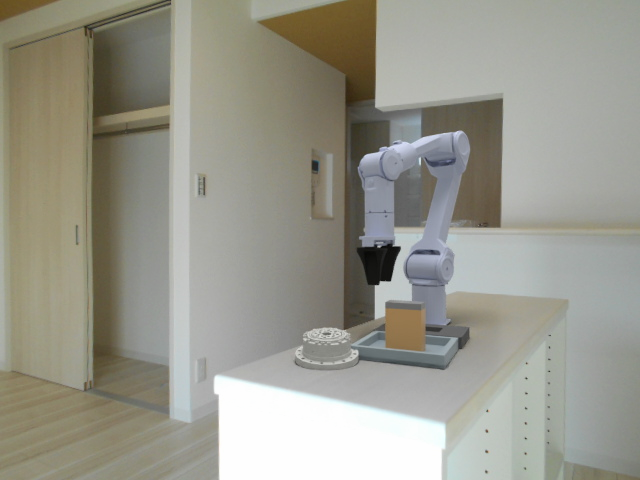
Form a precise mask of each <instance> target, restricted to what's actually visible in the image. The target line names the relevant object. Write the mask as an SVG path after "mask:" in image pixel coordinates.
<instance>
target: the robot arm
mask: <svg viewBox="0 0 640 480" xmlns="http://www.w3.org/2000/svg"><path fill="white" fill-rule="evenodd" d="M470 153H471V145H470V140H469V138H468V135H467V134H466V133H465V132H464V131H463V130H458V131H451V132H444V133H437V134H433V135H432V134H431V135H428V136H424V137H421V138H419V139H417V140H415V141H414V142H412V143H410V142H407V141H403V140H401V139H399V140H395V141H393V142H392V145H390V146H382V147H380V148H379V151H378V152H373V153H372V152H371V153H367V154H365V155H364V156H363V157H362V158H361V160H360V161H359V166H357V172H358V176H359V178H360V181H361V188H362V190H363V191H364V235H363V236H361V235H360V236H359V237H358V240H361V246H359V247H356V253H357V255H358V257H359V258H360V261H361V264H362V266H363V270H364V274H365V279H366V282H367V285H368V286H379V285H380V284H381V282H388V283H389V282H392V279H393V274H394V271H395V264H396V262H397V259H398V256H399V254H400V252H401V251H402V246H401V245H399V246H398V245H396V235H395V180H398V178H399V177H400V176H401V173H403V172H405V171H407V170H410V169H411V168H413V167H414V166H415V164H416V163H417V159H419V158H422V159H423V161H424V164H425V166H426V167H427V169H428V172H429V173H430V175H431V176H433V177H434V178H436V179H437V180H436V185H435V187H434V192H433V196H432V199H431V203H430V206H429V210H428V211H429V212H428V215H427V219H426V222H425V227H424V230H423V234H422V238H421V239H420V240H419V241H417V242H415V243H414V244H413V245H411V246H410V249H409V253H408V254H407V256H406V257H405V259H404V261H403V265H402V268H403V269H402V270H403V274H404V277H405V278H406V280H408V284H410V285H411V301H420V302H425V324H436V325H448V324H449V323H450V322H451V318H447V291H446V286H447V285H449V282H450V281H451V279H452V278H453V277H454V276H453V275H454V272H455V266H454V264H455V263H454V262H455V261H454V260H455V255H456V254H455V253H454V251H453V250H452V248H450V247H449V246H448V244H447V240H448V234H449V231H450V227H451V224H452V219H453V214H454V210H455V207H456V203H457V198H458V194H459V189H460V187H461V181H462V178H463V177H462V176H463V173H465V171H467V166H468V161H469V158H470Z"/></svg>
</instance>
